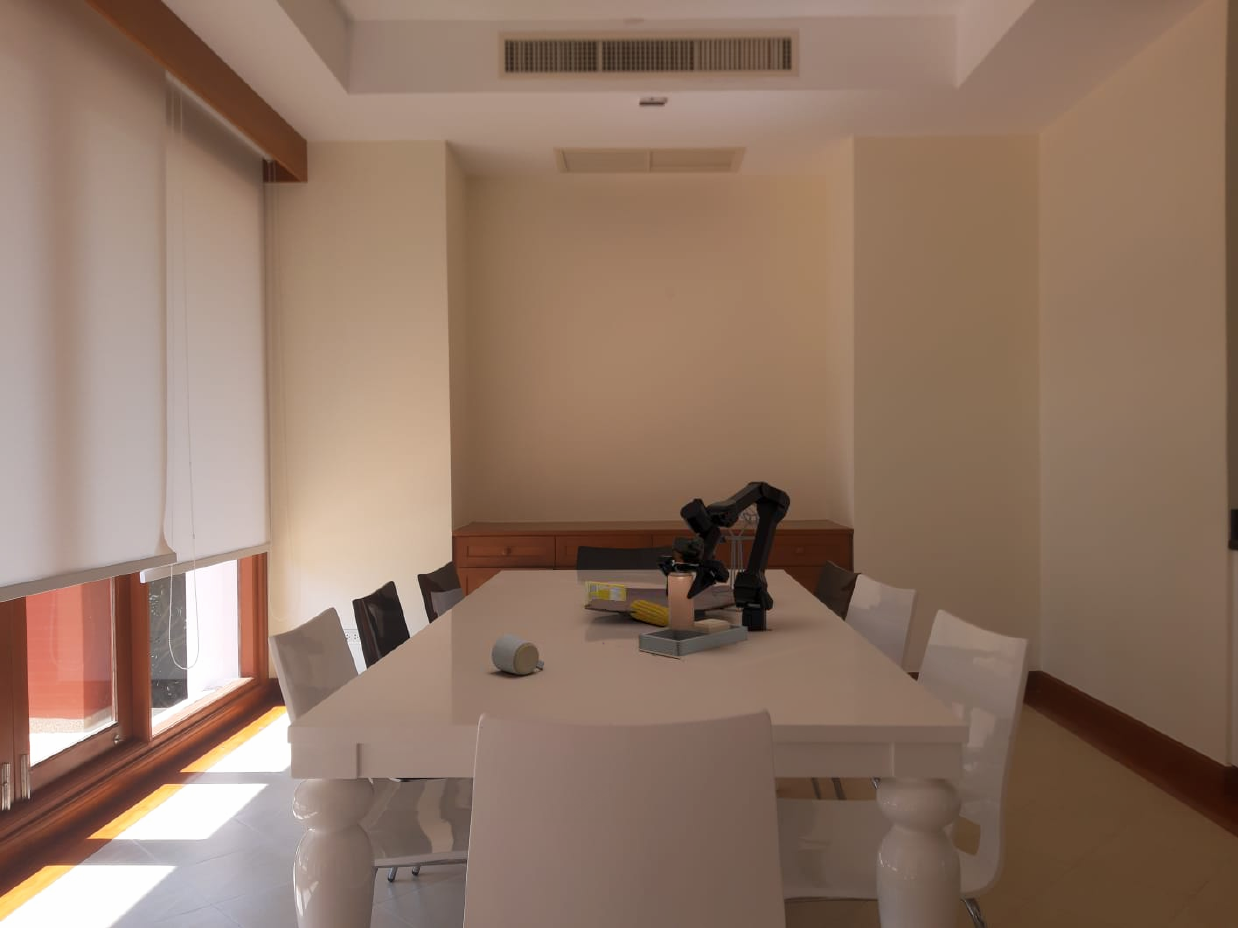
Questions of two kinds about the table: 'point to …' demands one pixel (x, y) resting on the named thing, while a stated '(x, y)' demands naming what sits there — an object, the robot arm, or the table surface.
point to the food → (650, 613)
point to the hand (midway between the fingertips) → (677, 596)
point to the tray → (689, 640)
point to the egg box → (711, 626)
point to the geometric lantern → (738, 550)
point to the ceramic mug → (515, 655)
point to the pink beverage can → (680, 601)
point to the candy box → (604, 591)
